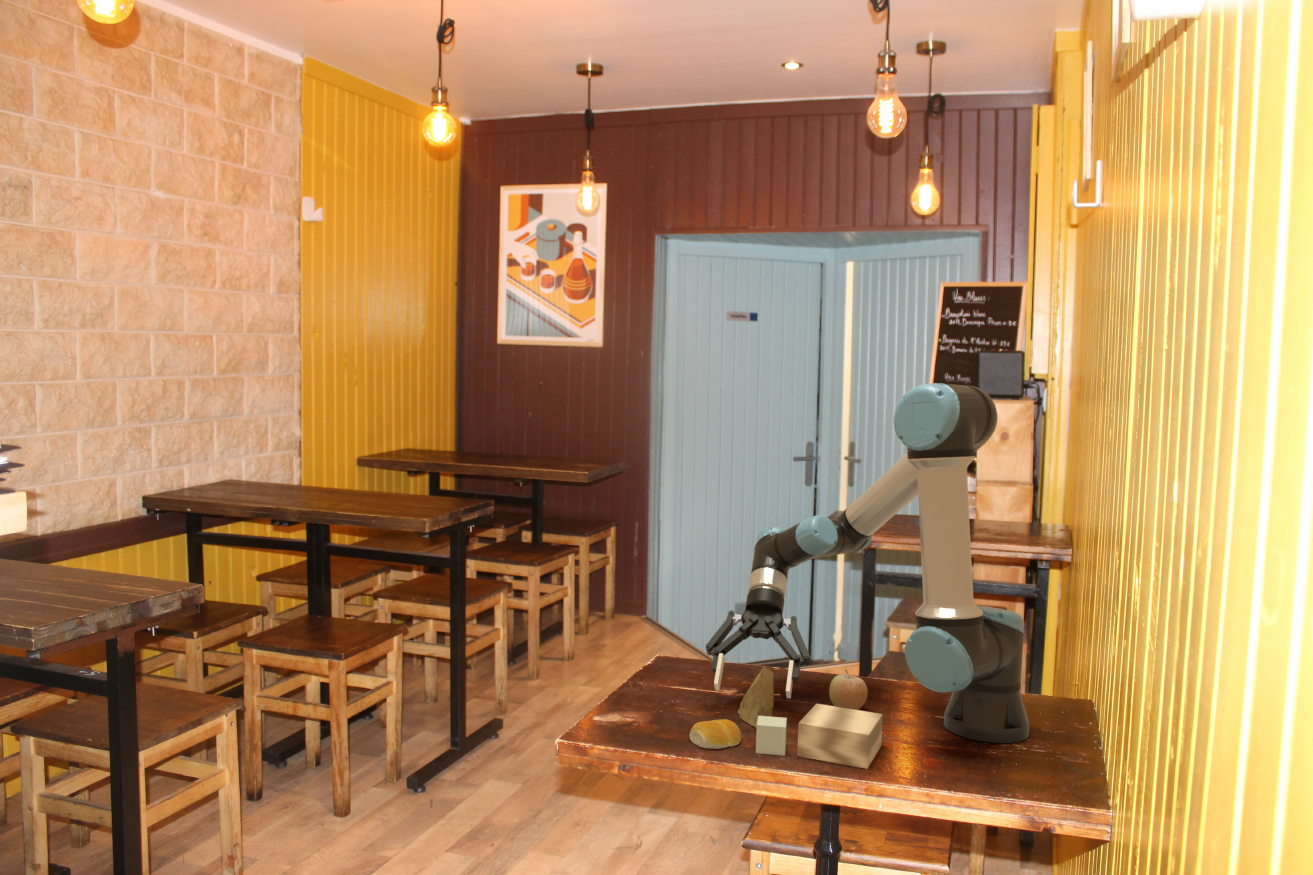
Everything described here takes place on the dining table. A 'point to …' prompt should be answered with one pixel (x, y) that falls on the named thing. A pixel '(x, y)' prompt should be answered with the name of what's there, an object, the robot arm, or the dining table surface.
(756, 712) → the rock
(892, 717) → the dining table surface
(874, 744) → the beech block
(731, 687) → the dining table surface
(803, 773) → the dining table surface
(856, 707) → the fruit
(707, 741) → the bread roll
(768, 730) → the pale cream cube
